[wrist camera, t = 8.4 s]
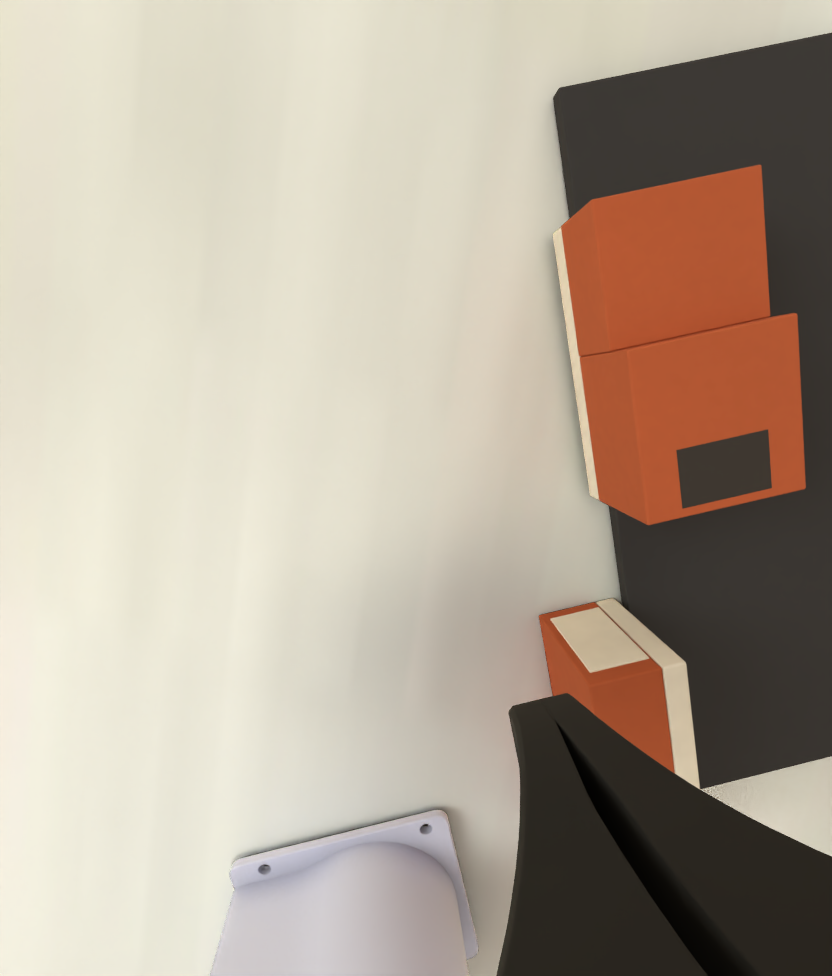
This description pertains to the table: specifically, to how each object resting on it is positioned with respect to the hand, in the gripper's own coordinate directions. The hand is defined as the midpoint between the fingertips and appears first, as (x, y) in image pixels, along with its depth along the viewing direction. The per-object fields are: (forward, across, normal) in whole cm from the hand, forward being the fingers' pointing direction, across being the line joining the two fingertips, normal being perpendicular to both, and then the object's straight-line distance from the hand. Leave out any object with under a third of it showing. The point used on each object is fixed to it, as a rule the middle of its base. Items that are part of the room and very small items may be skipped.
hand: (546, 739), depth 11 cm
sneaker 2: (+7, -5, -7) cm, 11 cm away
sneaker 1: (+9, -4, +7) cm, 12 cm away
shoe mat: (+9, -12, -2) cm, 15 cm away
